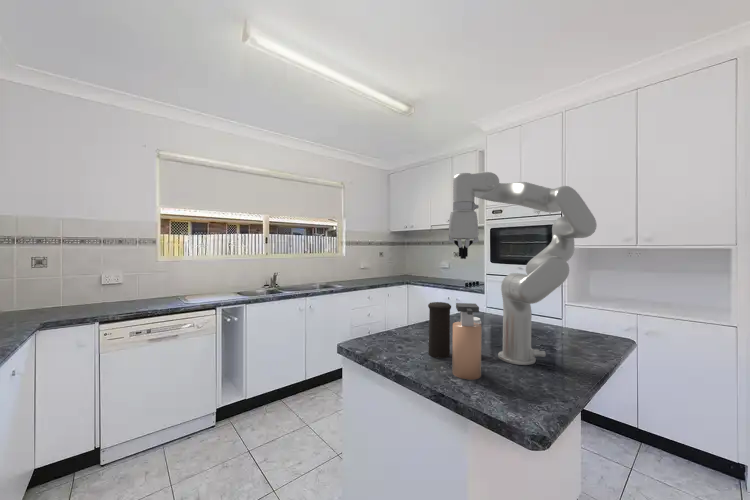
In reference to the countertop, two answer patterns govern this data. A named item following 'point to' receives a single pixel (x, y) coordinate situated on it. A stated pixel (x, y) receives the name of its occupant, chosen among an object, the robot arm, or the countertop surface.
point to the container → (439, 329)
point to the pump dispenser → (466, 348)
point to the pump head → (467, 308)
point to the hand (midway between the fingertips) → (463, 258)
